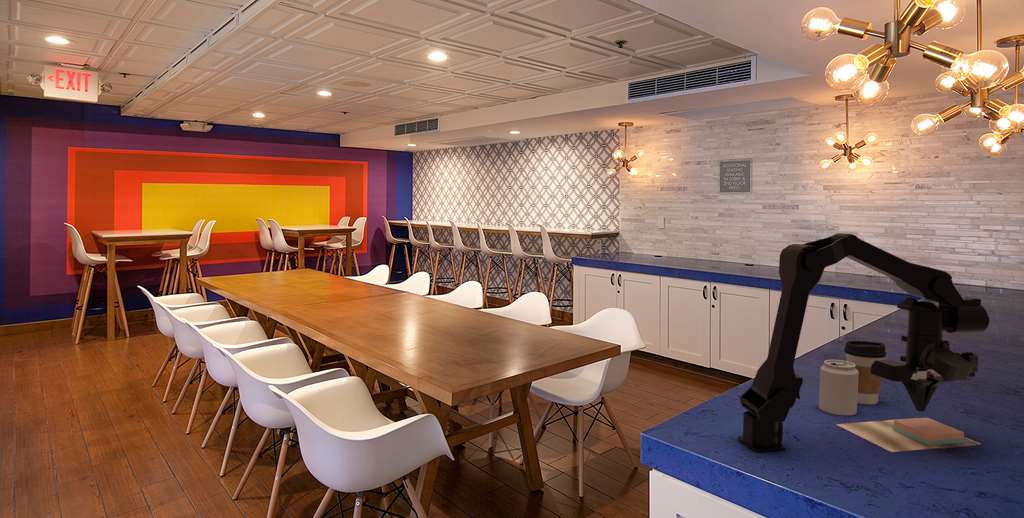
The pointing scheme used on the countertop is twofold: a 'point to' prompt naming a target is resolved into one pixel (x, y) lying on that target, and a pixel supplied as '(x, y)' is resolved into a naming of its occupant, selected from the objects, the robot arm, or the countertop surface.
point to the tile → (928, 431)
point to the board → (894, 436)
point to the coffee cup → (866, 368)
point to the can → (838, 387)
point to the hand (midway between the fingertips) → (920, 410)
